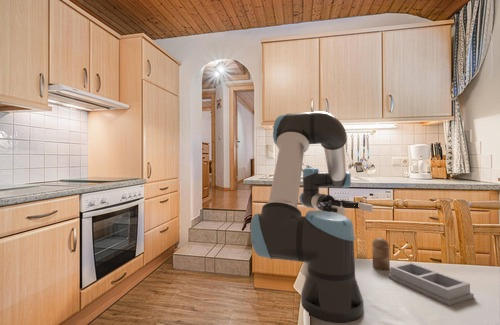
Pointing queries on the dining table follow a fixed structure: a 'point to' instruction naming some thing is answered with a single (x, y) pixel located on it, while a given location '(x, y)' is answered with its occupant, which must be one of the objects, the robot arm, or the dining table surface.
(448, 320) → the dining table surface
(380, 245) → the wooden dome-top peg
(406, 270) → the two-compartment grey tray
